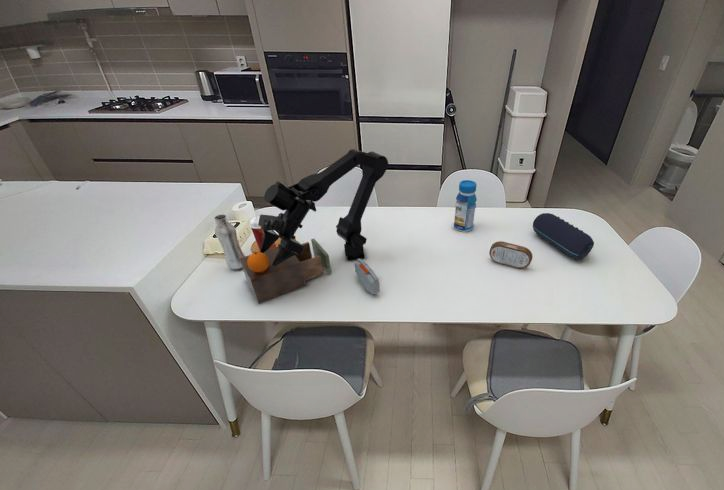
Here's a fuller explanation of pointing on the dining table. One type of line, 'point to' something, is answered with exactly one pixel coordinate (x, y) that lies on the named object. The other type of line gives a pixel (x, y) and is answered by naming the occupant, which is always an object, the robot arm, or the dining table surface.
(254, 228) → the paper cup
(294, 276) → the cabinet
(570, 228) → the portable speaker
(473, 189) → the beverage bottle
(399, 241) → the dining table surface
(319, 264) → the drawer
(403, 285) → the dining table surface
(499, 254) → the tin
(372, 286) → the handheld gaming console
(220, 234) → the plastic bottle
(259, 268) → the orange
